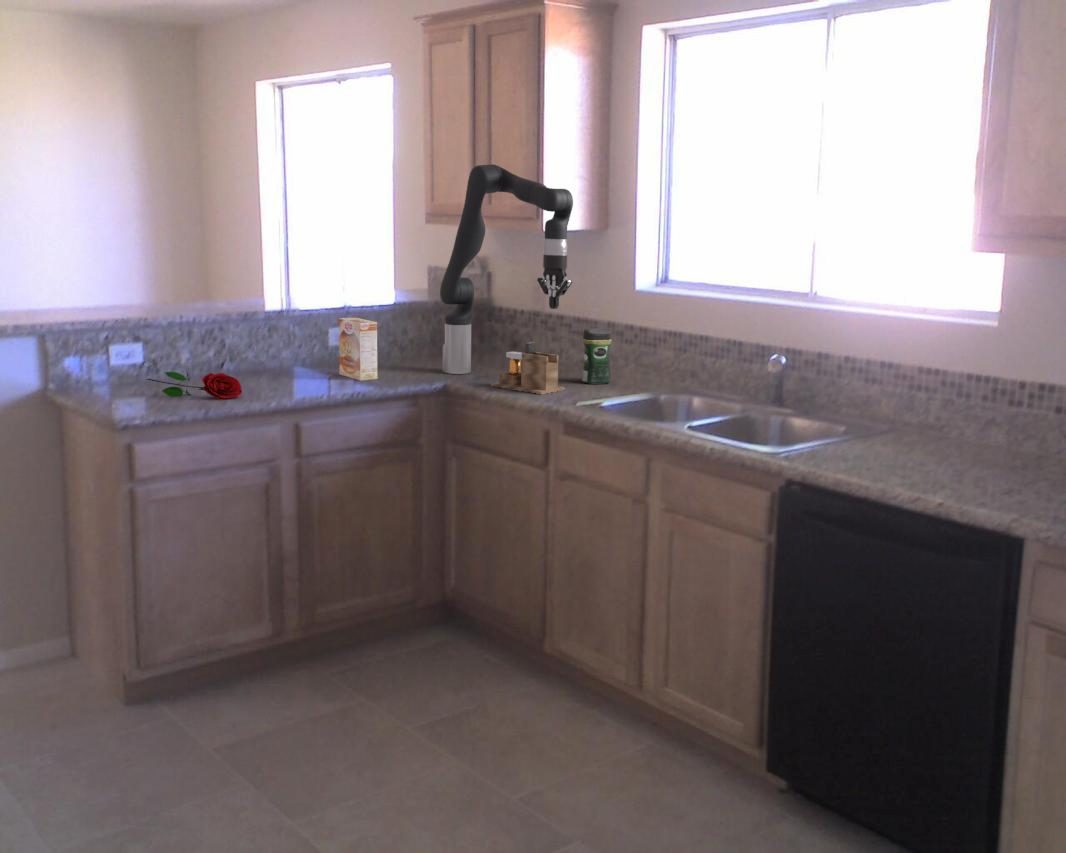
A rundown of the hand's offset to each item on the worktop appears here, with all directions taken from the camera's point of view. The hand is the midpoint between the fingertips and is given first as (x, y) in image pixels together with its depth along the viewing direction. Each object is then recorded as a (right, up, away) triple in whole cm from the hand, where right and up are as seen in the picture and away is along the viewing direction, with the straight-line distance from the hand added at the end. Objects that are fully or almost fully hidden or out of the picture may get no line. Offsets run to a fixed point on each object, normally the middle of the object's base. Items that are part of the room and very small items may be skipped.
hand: (553, 308), depth 359 cm
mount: (-8, -25, +12) cm, 29 cm away
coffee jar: (+15, -23, +26) cm, 38 cm away
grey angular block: (-10, -15, +11) cm, 21 cm away
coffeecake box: (-66, -21, +27) cm, 74 cm away
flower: (-110, -29, -16) cm, 114 cm away
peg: (-13, -23, +15) cm, 31 cm away
